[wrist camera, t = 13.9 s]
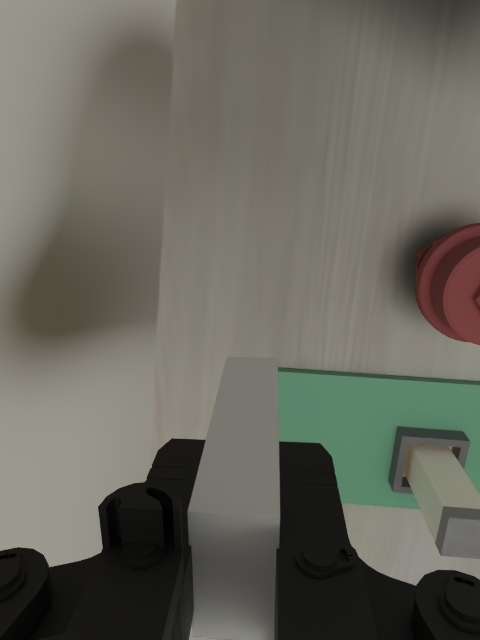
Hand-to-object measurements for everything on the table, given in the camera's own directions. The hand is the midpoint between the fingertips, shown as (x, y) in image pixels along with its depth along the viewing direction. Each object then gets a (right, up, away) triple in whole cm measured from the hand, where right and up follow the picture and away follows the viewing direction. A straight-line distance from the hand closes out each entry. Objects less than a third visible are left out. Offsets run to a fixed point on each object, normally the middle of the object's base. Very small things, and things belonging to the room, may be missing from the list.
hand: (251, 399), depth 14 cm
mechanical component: (+20, +8, +32) cm, 39 cm away
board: (+15, -11, +38) cm, 42 cm away
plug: (+20, -13, +37) cm, 44 cm away
